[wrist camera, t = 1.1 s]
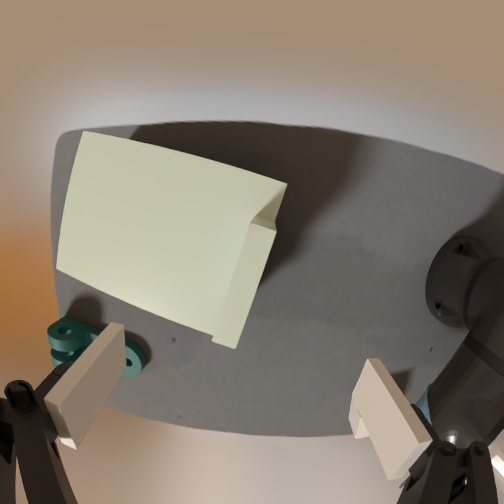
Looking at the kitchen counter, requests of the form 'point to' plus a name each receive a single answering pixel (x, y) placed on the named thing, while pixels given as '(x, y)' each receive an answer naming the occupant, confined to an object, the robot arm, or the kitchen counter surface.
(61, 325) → the bracket
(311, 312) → the kitchen counter surface
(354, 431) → the white cube
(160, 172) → the pale green l-shaped plate
